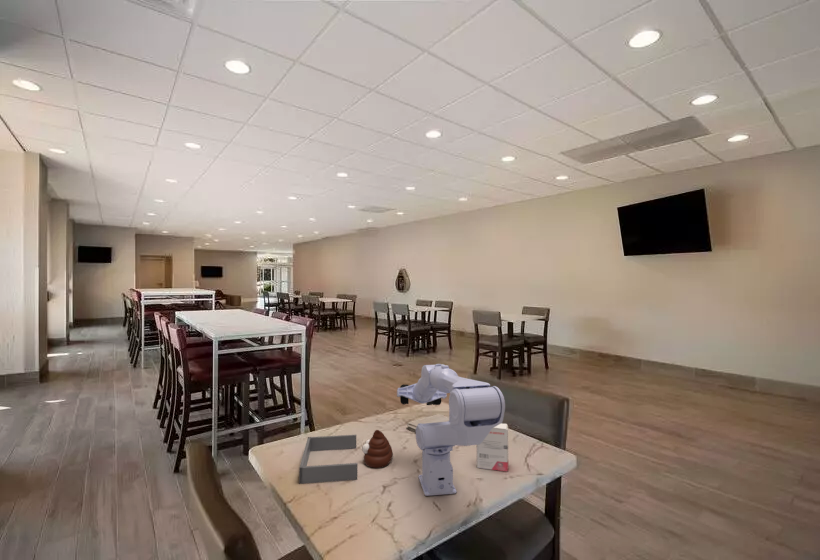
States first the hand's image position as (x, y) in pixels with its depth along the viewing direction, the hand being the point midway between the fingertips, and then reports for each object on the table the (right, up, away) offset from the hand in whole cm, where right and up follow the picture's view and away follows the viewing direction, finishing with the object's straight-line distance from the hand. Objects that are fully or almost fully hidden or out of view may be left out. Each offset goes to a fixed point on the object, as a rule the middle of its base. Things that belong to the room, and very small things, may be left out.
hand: (415, 401), depth 117 cm
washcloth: (+7, -16, +19) cm, 26 cm away
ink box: (+22, -15, -10) cm, 28 cm away
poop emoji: (-11, -15, -7) cm, 20 cm away
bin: (-24, -15, -9) cm, 30 cm away
